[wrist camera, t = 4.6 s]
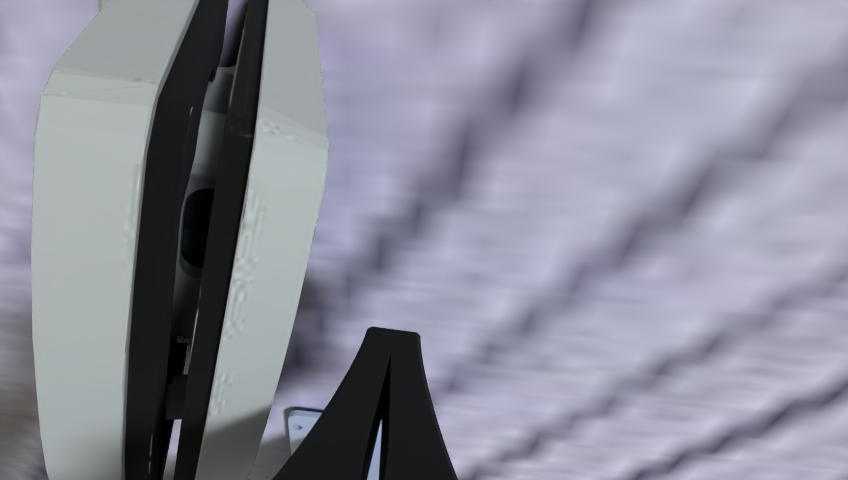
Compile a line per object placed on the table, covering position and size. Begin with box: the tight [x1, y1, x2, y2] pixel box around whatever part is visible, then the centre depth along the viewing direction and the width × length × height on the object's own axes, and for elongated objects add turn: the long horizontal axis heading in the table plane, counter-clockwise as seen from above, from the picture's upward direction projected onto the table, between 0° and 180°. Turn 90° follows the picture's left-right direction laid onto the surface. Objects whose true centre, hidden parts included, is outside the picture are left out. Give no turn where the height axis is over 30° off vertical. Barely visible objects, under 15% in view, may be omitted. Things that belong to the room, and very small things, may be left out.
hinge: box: [31, 0, 329, 480], centre depth 12 cm, size 17×5×10 cm, turn 157°
